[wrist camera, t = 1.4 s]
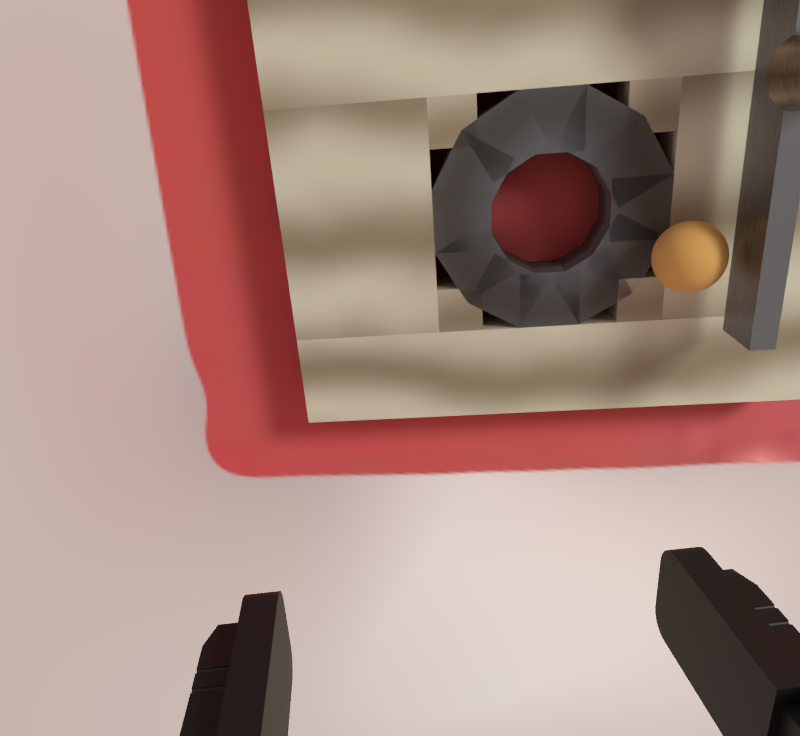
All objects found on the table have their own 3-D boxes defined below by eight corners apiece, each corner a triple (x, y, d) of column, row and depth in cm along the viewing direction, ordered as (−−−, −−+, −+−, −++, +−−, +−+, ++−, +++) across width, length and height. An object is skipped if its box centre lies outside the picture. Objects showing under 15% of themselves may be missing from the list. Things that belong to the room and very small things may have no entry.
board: (246, -91, 30) (231, -106, 28) (866, -155, 28) (904, -178, 26) (315, 404, 40) (308, 422, 38) (777, 381, 38) (800, 399, 36)
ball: (644, 217, 33) (667, 230, 29) (715, 212, 32) (747, 225, 29) (639, 284, 34) (661, 303, 31) (707, 280, 34) (737, 299, 30)
